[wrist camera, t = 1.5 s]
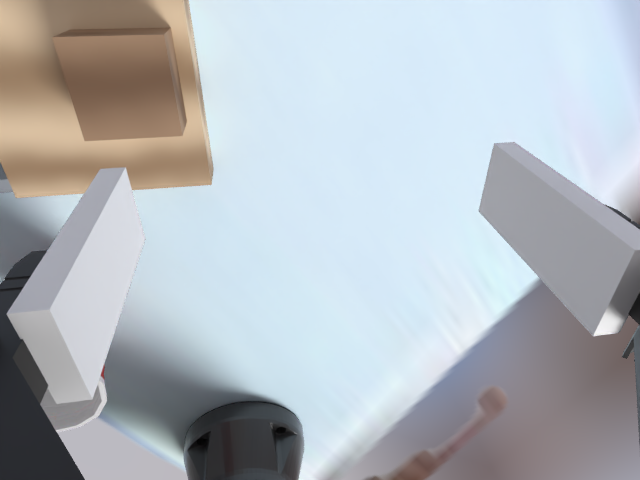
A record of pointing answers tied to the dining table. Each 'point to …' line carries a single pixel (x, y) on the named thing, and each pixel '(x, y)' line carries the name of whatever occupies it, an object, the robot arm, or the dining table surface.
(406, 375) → the dining table surface
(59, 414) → the plastic cup
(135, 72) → the brown square block
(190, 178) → the board
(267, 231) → the dining table surface
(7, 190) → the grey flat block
